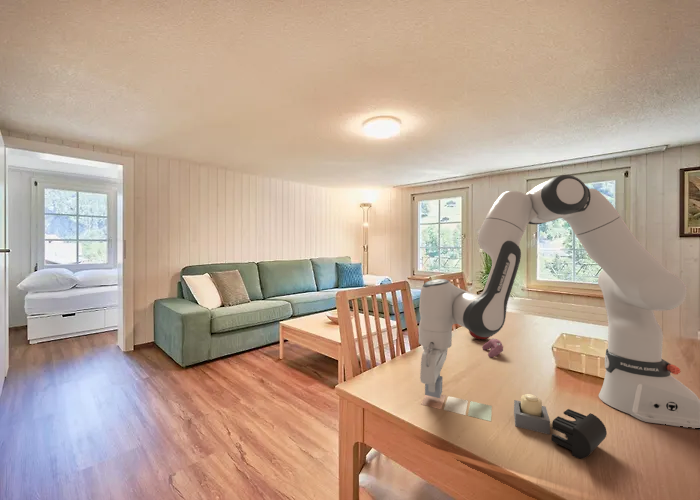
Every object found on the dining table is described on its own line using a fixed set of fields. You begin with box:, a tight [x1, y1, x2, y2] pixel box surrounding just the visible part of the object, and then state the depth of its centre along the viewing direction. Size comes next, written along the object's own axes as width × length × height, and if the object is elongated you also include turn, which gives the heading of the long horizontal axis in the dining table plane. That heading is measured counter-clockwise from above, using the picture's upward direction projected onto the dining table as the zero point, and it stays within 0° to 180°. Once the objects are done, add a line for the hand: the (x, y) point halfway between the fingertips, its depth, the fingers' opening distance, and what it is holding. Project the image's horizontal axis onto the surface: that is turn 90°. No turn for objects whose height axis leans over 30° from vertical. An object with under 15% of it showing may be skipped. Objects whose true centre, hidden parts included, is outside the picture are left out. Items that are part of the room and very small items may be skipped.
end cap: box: [551, 408, 608, 460], centre depth 67 cm, size 10×7×7 cm
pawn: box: [424, 372, 443, 398], centre depth 86 cm, size 4×4×7 cm
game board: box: [420, 394, 493, 422], centre depth 83 cm, size 18×10×1 cm, turn 64°
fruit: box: [468, 330, 490, 340], centre depth 142 cm, size 11×10×10 cm
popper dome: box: [520, 393, 543, 417], centre depth 75 cm, size 4×4×5 cm
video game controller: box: [482, 338, 504, 358], centre depth 124 cm, size 10×5×7 cm, turn 171°
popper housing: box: [513, 399, 551, 435], centre depth 75 cm, size 7×7×4 cm
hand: (434, 386), depth 86 cm, fingers closed on pawn, 4 cm apart
